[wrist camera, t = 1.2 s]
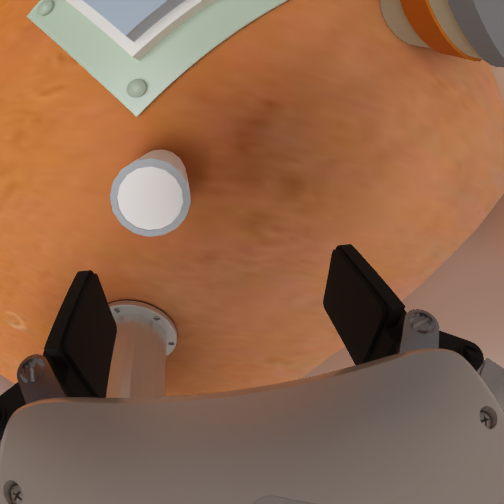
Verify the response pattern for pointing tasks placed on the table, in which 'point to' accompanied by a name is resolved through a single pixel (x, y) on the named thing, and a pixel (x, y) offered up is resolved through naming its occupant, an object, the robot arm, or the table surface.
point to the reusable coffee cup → (450, 26)
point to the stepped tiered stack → (143, 38)
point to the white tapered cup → (151, 194)
